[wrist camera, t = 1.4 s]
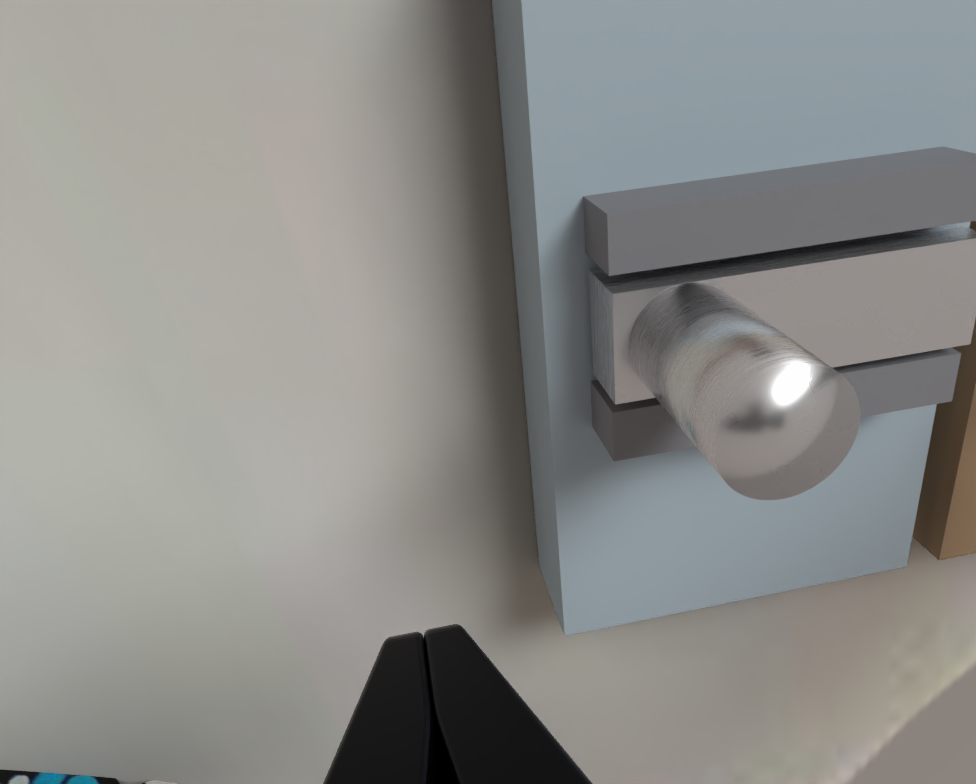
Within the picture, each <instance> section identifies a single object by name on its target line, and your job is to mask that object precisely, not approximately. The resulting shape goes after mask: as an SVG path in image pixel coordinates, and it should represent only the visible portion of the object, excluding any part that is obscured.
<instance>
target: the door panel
mask: <svg viewBox="0 0 976 784" xmlns="http://www.w3.org/2000/svg"><path fill="white" fill-rule="evenodd" d="M492 8H493V20H494V32H495V44H496V56H497V68H498V80H499V92H500V104H501V116H502V128H503V140H504V152H505V164H506V176H507V188H508V200H509V212H510V224H511V236H512V248H513V260H514V272H515V284H516V296H517V308H518V320H519V332H520V344H521V356H522V368H523V379H524V391H525V403H526V415H527V427H528V439H529V451H530V463H531V475H532V487H533V499H534V511H535V523H536V535H537V547H538V559H539V567H540V570H541V573H542V576H543V578H544V581H545V584H546V586H547V589H548V592H549V595H550V597H551V600H552V603H553V606H554V608H555V611H556V614H557V616H558V619H559V622H560V625H561V627H562V630H563V633H564V636H568V635H573V634H578V633H583V632H588V631H593V630H598V629H603V628H607V627H612V626H617V625H622V624H627V623H632V622H637V621H642V620H647V619H652V618H657V617H662V616H667V615H672V614H676V613H681V612H686V611H691V610H696V609H701V608H706V607H711V606H716V605H721V604H726V603H731V602H736V601H741V600H745V599H750V598H755V597H760V596H765V595H770V594H775V593H780V592H785V591H790V590H795V589H800V588H805V587H810V586H814V585H819V584H824V583H829V582H834V581H839V580H844V579H849V578H854V577H859V576H864V575H869V574H874V573H878V572H883V571H888V570H893V569H898V568H903V567H907V562H908V557H909V552H910V546H911V541H912V535H913V530H914V525H915V519H916V514H917V508H918V503H919V498H920V492H921V487H922V481H923V476H924V471H925V465H926V460H927V454H928V449H929V444H930V438H931V433H932V427H933V422H934V416H935V411H936V406H937V404H939V403H945V402H950V401H952V399H953V394H954V389H955V384H956V378H957V373H958V368H959V363H960V358H961V353H960V352H958V351H956V350H955V349H953V348H945V349H939V350H933V351H927V352H921V353H916V354H910V355H904V356H898V357H892V358H886V359H880V360H874V361H868V362H863V363H857V364H851V365H845V366H839V367H833V369H834V370H836V371H837V372H839V373H840V374H841V375H843V376H844V377H845V378H846V379H847V380H848V381H849V382H850V383H851V385H852V386H853V388H854V389H855V392H856V394H857V396H858V400H859V404H860V424H859V429H858V433H857V436H856V439H855V441H854V443H853V445H852V448H851V449H850V451H849V453H848V454H847V456H846V457H845V459H844V460H843V461H842V463H841V464H840V465H839V466H838V467H837V468H836V469H835V471H834V472H833V473H831V474H830V475H829V476H828V477H827V478H826V479H824V480H823V481H822V482H820V483H819V484H818V485H816V486H814V487H813V488H811V489H809V490H807V491H805V492H803V493H801V494H798V495H795V496H792V497H789V498H785V499H779V500H757V499H753V498H749V497H746V496H744V495H741V494H739V493H738V492H736V491H734V490H733V489H732V488H731V487H730V486H729V485H728V484H727V483H726V482H725V481H724V480H723V478H722V477H721V476H720V475H719V474H718V472H717V471H716V470H715V469H714V468H713V466H712V465H711V464H710V463H709V461H708V460H707V459H706V458H705V457H704V455H703V454H702V453H701V452H700V451H699V449H698V448H697V447H696V446H695V445H694V443H693V442H692V441H691V440H690V439H689V437H688V436H687V435H686V434H685V433H684V431H683V430H682V429H681V428H680V427H679V425H678V424H677V423H676V422H675V421H674V419H673V418H672V417H671V416H670V414H669V413H668V412H667V411H666V410H665V408H664V407H663V406H662V405H661V404H660V402H659V401H658V400H657V399H656V398H651V399H645V400H639V401H633V402H627V403H621V404H615V403H614V402H613V401H612V399H611V398H610V396H609V395H608V394H607V392H606V391H605V389H604V388H603V387H602V385H601V384H600V382H599V381H598V380H597V378H596V377H595V375H594V374H593V369H592V344H591V318H590V292H589V270H590V269H597V268H601V269H602V270H603V271H604V272H605V273H606V274H607V275H608V276H613V275H619V274H626V273H632V272H639V271H646V270H652V269H659V268H666V267H672V266H679V265H686V264H692V263H699V262H705V261H712V260H719V259H725V258H732V257H739V256H745V255H752V254H759V253H765V252H772V251H778V250H785V249H792V248H798V247H805V246H812V245H818V244H825V243H832V242H838V241H845V240H851V239H858V238H865V237H871V236H878V235H885V234H891V233H898V232H905V231H911V230H918V229H924V228H931V227H938V226H944V225H951V224H958V225H961V226H964V227H967V228H969V227H970V222H971V221H976V0H492Z"/></svg>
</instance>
